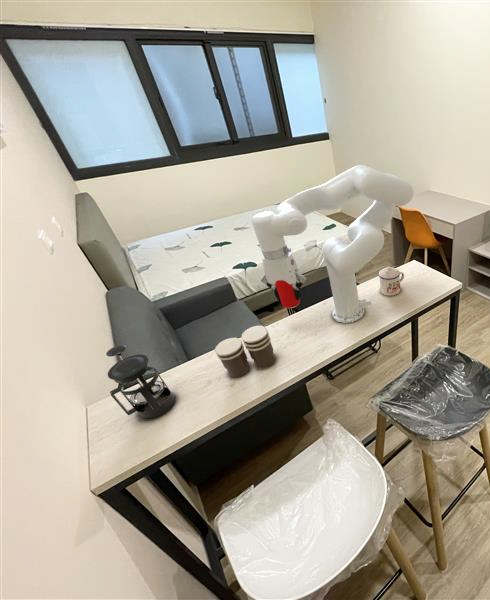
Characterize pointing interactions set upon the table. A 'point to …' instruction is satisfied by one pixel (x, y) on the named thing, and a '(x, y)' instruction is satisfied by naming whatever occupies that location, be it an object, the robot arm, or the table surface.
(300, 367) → the table surface
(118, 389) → the french press
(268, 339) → the cup stacks
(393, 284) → the teacup with lid
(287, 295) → the beverage can
